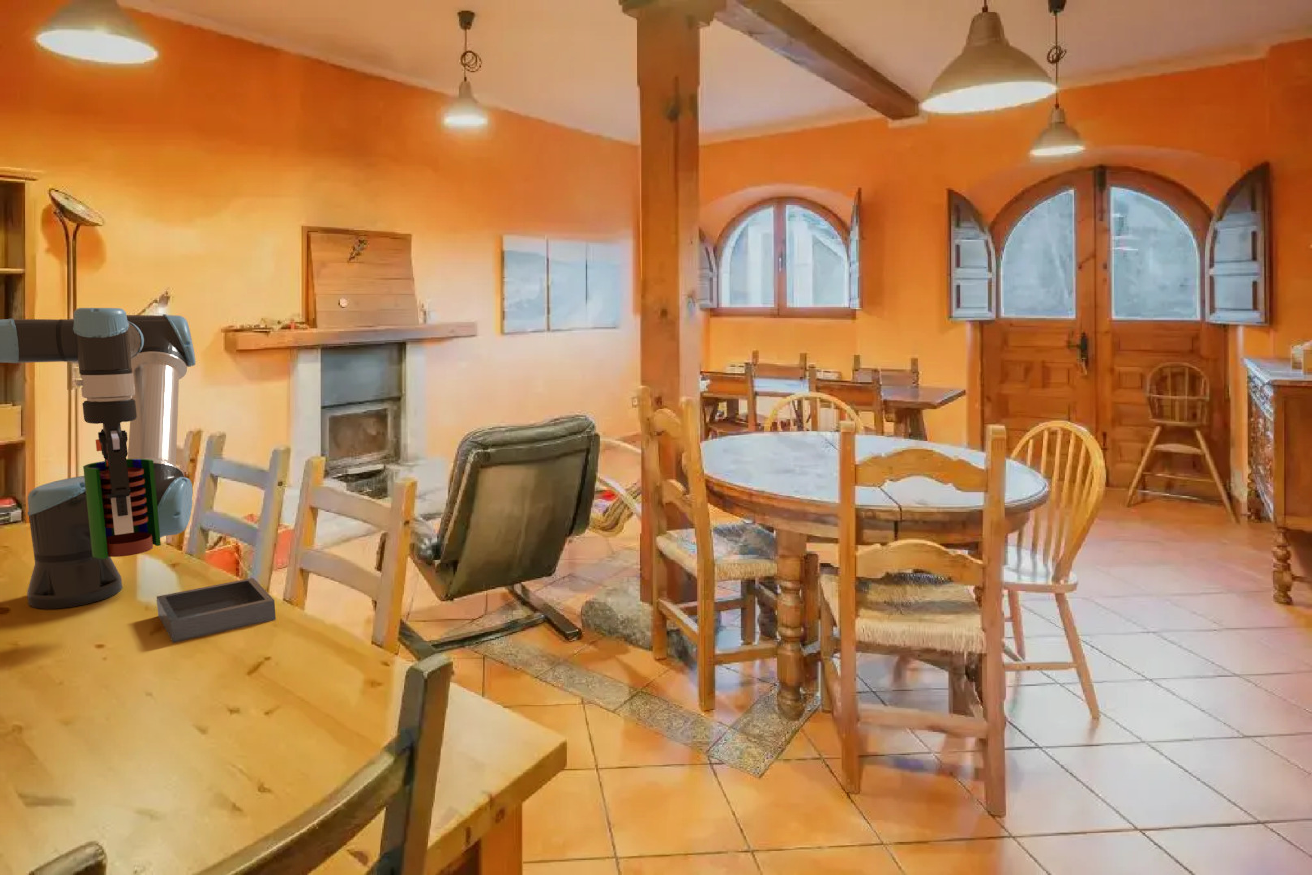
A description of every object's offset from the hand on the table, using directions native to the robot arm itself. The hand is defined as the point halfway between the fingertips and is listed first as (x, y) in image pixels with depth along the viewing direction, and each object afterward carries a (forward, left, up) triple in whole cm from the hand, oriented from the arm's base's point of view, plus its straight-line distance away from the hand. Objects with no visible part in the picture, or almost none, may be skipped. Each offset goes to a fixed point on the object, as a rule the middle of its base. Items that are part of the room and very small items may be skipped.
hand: (122, 528), depth 139 cm
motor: (0, 0, -4) cm, 4 cm away
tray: (+5, +13, -18) cm, 23 cm away
